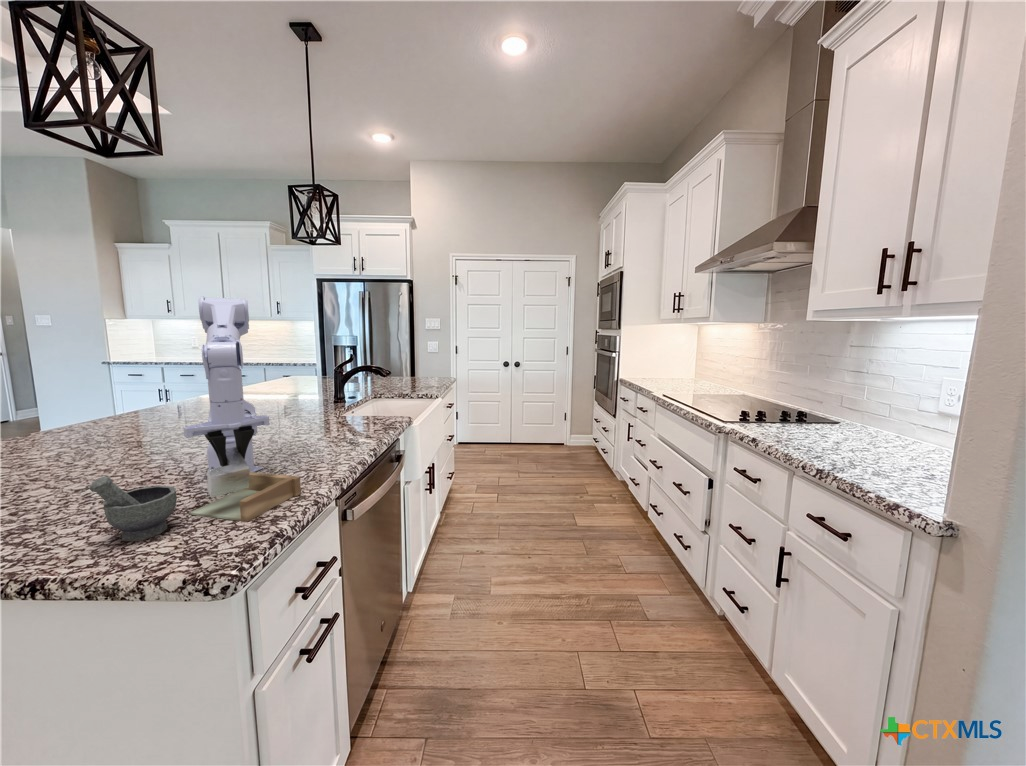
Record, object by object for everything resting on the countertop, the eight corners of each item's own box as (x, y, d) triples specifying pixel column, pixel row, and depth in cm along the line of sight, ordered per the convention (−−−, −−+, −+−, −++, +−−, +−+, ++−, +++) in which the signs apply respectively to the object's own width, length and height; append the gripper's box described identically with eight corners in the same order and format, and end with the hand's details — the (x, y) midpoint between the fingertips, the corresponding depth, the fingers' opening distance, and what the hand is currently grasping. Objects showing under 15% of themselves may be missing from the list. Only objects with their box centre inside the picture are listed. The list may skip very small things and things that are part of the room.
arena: (186, 514, 80) (184, 494, 79) (243, 487, 93) (242, 471, 92) (251, 522, 77) (249, 502, 76) (300, 493, 90) (299, 476, 89)
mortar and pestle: (163, 515, 79) (157, 456, 77) (191, 525, 75) (184, 464, 73) (84, 542, 69) (75, 476, 67) (111, 556, 65) (102, 486, 63)
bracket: (248, 487, 83) (249, 467, 81) (211, 497, 78) (211, 477, 76) (235, 465, 87) (235, 446, 85) (198, 474, 82) (198, 454, 80)
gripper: (187, 408, 74) (194, 478, 76) (273, 398, 85) (277, 459, 87) (178, 403, 78) (184, 469, 80) (260, 394, 90) (264, 453, 91)
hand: (232, 464), depth 84 cm, fingers closed on bracket, 2 cm apart
